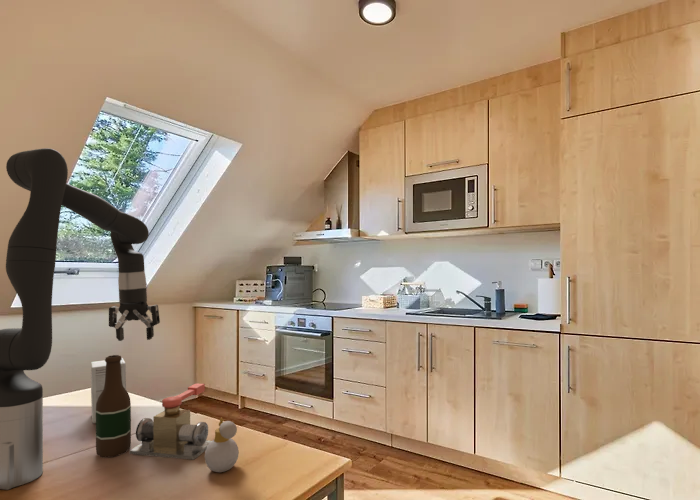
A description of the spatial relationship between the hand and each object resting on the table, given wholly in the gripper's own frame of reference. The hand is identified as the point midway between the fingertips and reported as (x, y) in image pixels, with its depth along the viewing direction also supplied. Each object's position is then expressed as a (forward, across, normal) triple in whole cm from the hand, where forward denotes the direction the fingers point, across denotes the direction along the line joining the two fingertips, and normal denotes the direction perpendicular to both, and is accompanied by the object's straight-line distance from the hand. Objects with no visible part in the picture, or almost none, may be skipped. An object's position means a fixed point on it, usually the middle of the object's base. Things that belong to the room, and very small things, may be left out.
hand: (135, 339), depth 132 cm
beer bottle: (+23, +4, -23) cm, 33 cm away
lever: (+13, +20, -17) cm, 29 cm away
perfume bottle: (+23, +35, -36) cm, 55 cm away
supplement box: (+25, -11, +3) cm, 27 cm away
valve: (+23, +18, -23) cm, 38 cm away
